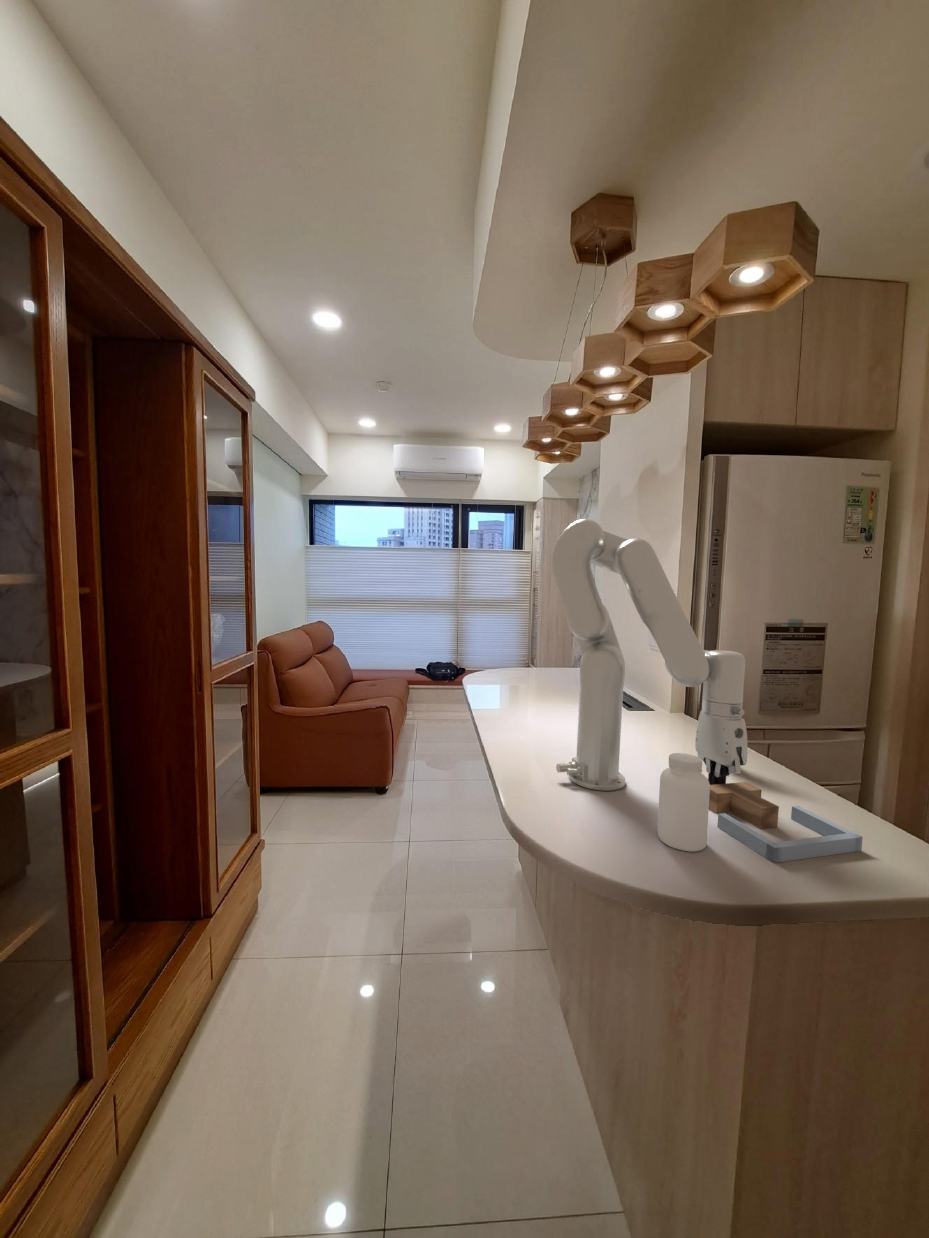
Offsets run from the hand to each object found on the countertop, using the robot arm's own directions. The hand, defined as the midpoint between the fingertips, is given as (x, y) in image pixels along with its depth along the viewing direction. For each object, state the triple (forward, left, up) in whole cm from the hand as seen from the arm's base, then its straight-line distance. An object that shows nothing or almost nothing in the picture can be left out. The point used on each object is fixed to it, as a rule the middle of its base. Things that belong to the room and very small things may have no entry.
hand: (716, 792), depth 101 cm
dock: (0, -17, -1) cm, 17 cm away
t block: (0, -8, -1) cm, 8 cm away
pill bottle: (-20, -14, -1) cm, 25 cm away
